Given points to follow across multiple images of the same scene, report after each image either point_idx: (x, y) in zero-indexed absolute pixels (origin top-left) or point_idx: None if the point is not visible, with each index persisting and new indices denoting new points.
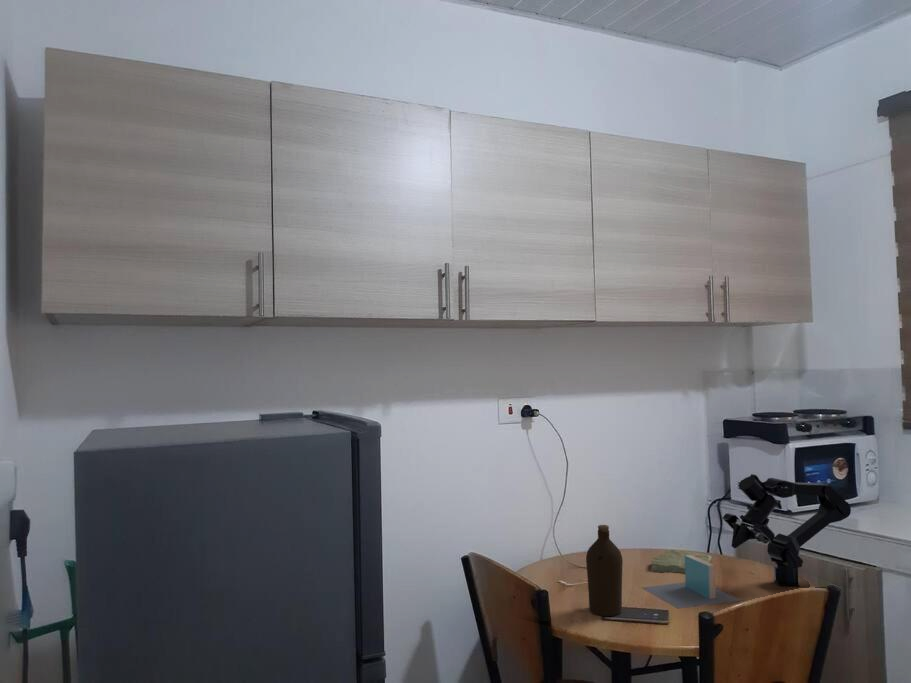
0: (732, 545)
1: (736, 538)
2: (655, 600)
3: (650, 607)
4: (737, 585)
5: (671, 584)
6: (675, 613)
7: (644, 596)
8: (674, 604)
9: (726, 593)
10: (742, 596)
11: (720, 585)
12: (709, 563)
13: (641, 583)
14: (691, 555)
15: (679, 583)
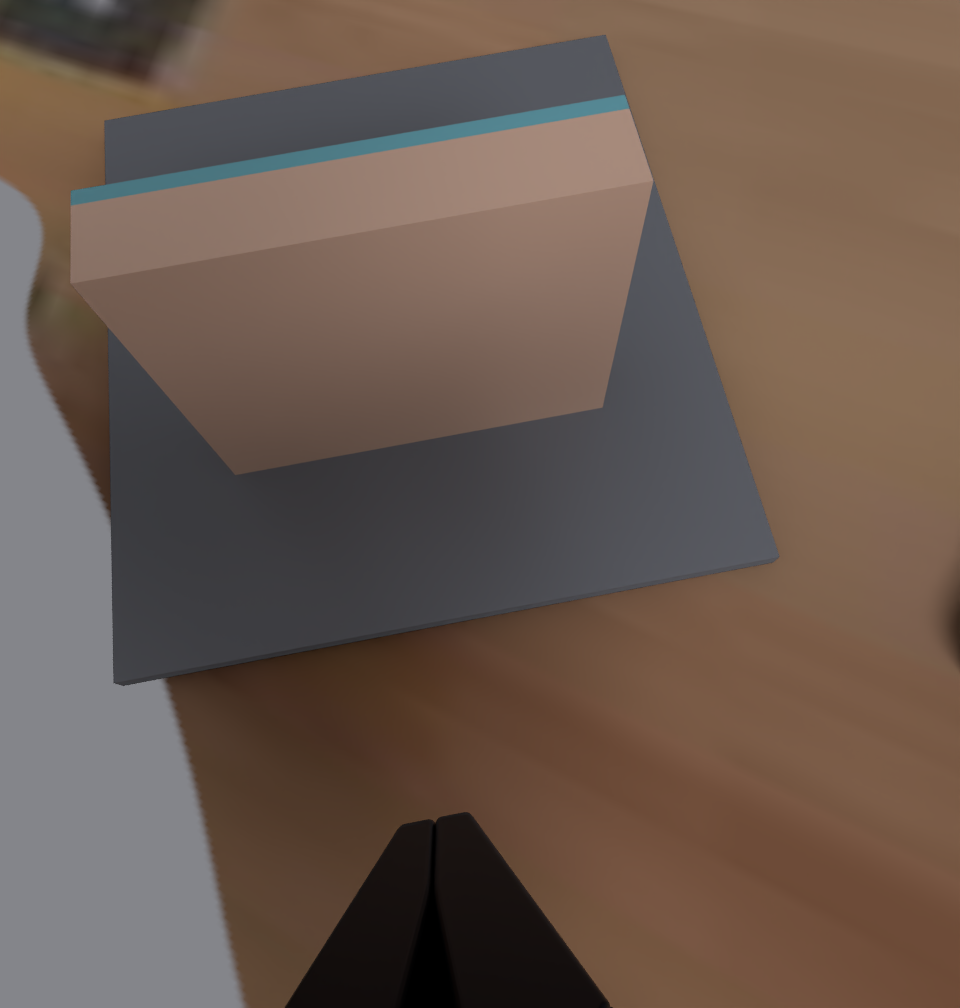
0: (424, 824)
1: (337, 1001)
2: (346, 67)
3: (222, 6)
4: (640, 950)
5: (663, 255)
6: (67, 104)
7: (444, 28)
8: (184, 125)
9: (329, 637)
10: (270, 797)
11: (656, 736)
12: (168, 251)
13: (757, 85)
14: (623, 177)
15: (688, 329)
